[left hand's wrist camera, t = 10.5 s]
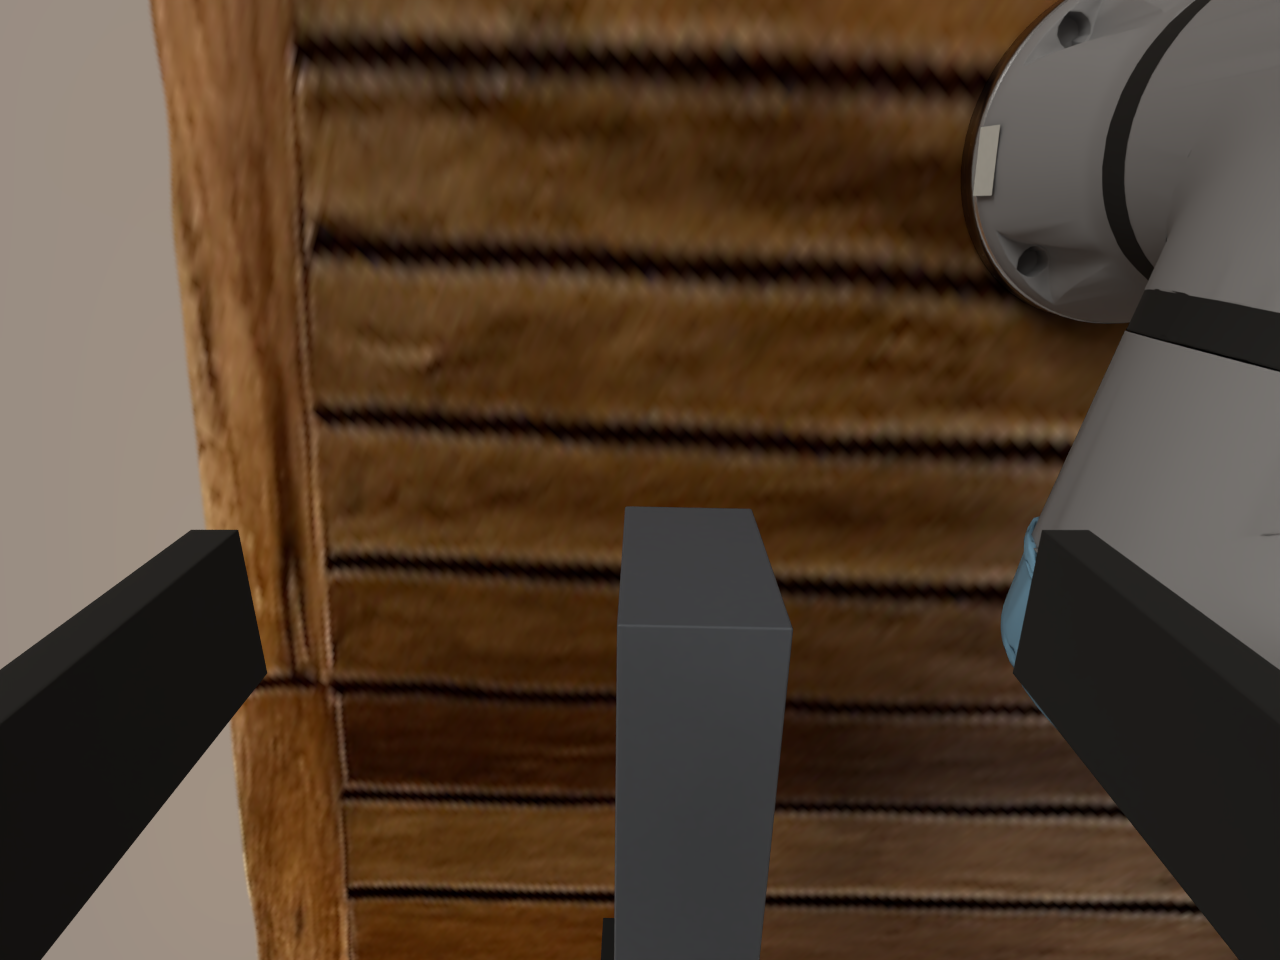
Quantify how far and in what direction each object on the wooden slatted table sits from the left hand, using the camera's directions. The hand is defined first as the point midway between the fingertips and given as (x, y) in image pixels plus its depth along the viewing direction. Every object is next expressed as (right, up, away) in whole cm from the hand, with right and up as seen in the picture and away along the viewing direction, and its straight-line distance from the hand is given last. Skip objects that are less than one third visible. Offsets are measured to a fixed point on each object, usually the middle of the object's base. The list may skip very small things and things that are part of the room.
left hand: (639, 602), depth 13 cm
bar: (+2, -11, +19) cm, 22 cm away
